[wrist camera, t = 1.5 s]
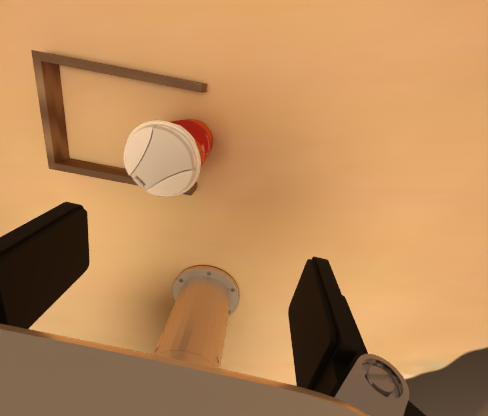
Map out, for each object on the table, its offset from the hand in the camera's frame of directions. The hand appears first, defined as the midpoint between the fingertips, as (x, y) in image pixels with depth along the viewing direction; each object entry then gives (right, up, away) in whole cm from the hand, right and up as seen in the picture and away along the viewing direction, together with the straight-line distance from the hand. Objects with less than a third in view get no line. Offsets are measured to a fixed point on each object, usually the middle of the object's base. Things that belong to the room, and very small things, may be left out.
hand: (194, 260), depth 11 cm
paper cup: (-5, +12, +26) cm, 30 cm away
